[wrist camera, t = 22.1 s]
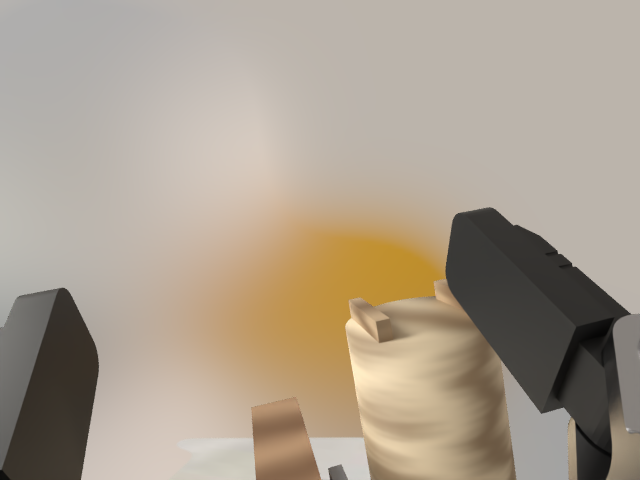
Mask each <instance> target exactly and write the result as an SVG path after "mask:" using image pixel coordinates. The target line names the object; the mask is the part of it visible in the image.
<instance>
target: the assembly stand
mask: <svg viewBox="0 0 640 480" xmlns="http://www.w3.org/2000/svg"><path fill="white" fill-rule="evenodd" d="M328 470H329V475H330V480H348V479H347V477H346V474H345V472H344V470H343V467H342V465H338V466H334V467H331V468H328Z"/></svg>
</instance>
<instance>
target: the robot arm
mask: <svg viewBox="0 0 640 480" xmlns="http://www.w3.org/2000/svg"><path fill="white" fill-rule="evenodd" d="M446 279H447V283H448V286H449V289H450V291H451V293H452V294H453V296H454V297H455V299H456V300H457V301H458V303H459V304H460V305H461V307H462V308H463V309H464V311H465V312H466V313H467V315H468V316H469V317H470V319H471V320H472V321H473V323H474V324H475V325H476V327H477V328H478V329H479V331H480V332H481V333H482V335H483V336H484V338H485V339H486V340H487V342H488V343H489V344H490V346H491V347H492V348H493V350H494V351H495V352H496V354H497V355H498V356H499V358H500V359H501V360H502V361H503V363H504V364H505V366H506V367H507V368H508V370H509V371H510V372H511V374H512V375H513V376H514V378H515V379H516V380H517V382H518V383H519V384H520V386H521V387H522V388H523V390H524V391H525V392H526V394H527V395H528V396H529V398H530V399H531V401H532V402H533V403H534V404H535V406H536V407H537V408H538V410H539V411H540V413H541V414H542V413H546V412H549V411H553V410H556V409H560V408H563V407H564V408H565V409H566V410H567V412H568V413H569V414H570V416H571V419H570V421H569V423H568V464H569V480H640V314H630V313H629V312H628V311H627V310H625V309H624V308H623V307H622V306H621V305H619V303H617V302H616V301H615V300H614V299H613V298H612V297H610V296H609V295H608V294H607V293H606V292H605V291H604V290H602V289H601V288H600V287H599V286H598V285H596V284H595V283H594V282H593V281H592V280H591V279H589V278H588V277H587V276H586V275H585V274H584V273H583V272H581V271H580V270H579V269H578V268H577V267H573V266H572V263H571V262H570V261H569V260H567V259H566V258H565V257H564V256H563V255H562V254H558V252H557V250H556V249H555V248H553V247H552V246H551V245H550V244H549V243H548V242H547V241H545V240H544V239H543V238H542V237H541V236H539V235H537V234H535V233H533V232H531V231H529V230H526V229H524V228H522V227H520V226H518V225H514V226H513V225H512V224H511V223H510V222H509V221H508V220H506V219H505V218H504V217H503V216H502V215H501V214H500V213H499V212H498V211H496V210H495V209H493V208H490V207H489V208H483V209H478V210H473V211H468V212H462V213H458V214H456V215H455V217H454V219H453V222H452V228H451V235H450V242H449V248H448V255H447V262H446ZM98 372H99V362H98V354H97V350H96V346H95V343H94V341H93V339H92V337H91V335H90V333H89V331H88V329H87V327H86V324H85V322H84V321H83V318H82V316H81V314H80V312H79V310H78V308H77V306H76V304H75V302H74V300H73V298H72V296H71V294H70V293H69V291H68V290H67V289H65V288H59V289H53V290H48V291H43V292H37V293H33V294H27V295H22V296H19V297H18V298H17V299H16V300H15V302H14V304H13V307H12V309H11V311H10V314H9V316H8V318H7V321H6V323H5V326H4V327H1V328H0V480H81V475H82V469H83V462H84V457H85V451H86V445H87V439H88V433H89V426H90V421H91V415H92V409H93V403H94V397H95V391H96V385H97V378H98Z"/></svg>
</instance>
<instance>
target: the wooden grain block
mask: <svg viewBox="0 0 640 480" xmlns="http://www.w3.org/2000/svg"><path fill="white" fill-rule="evenodd" d="M252 424H253V439H254V454H255V470H256V480H321V477H320V474H319V471H318V468H317V464H316V461H315V458H314V454H313V451H312V448H311V444H310V441H309V438H308V434H307V431H306V428H305V424H304V421H303V418H302V414H301V411H300V408H299V404H298V401H297V398H296V397H293V398H289V399H285V400H281V401H276V402H272V403H268V404H264V405H260V406H256V407H252Z"/></svg>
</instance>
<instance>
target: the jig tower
mask: <svg viewBox="0 0 640 480" xmlns="http://www.w3.org/2000/svg"><path fill="white" fill-rule="evenodd" d="M434 287H435V294H436V296H433V297H419V298H411V299H404V300H399V301H394V302H389V303H385V304H382V305H378V306H375V307H373V306H372V305H370V304H369V303H367V302H366V301H364V300H363V299H361V298H356V299H351V300H349V306H350V312H351V319H350V320H349V321H348V322H347V324H346V327H345V328H346V334H347V339H348V346H349V352H350V358H351V363H352V370H353V376H354V382H355V387H356V394H357V400H358V405H359V411H360V417H361V423H362V429H363V434H364V441H365V447H366V453H367V459H368V465H369V471H370V477H371V480H516V473H515V465H514V458H513V451H512V442H511V435H510V427H509V420H508V412H507V404H506V397H505V389H504V382H503V374H502V366H501V359H500V358H499V356H498V355H497V354H496V352H495V351H494V350H493V348H492V347H491V346H490V344H489V343H488V342H487V340H486V339H485V338H484V336H483V335H482V333H481V332H480V331H479V329H478V328H477V327H476V325H475V324H474V323H473V321H472V320H471V319H470V317H469V316H468V315H467V313H466V312H465V311H464V309H463V308H462V307H461V305H460V304H459V303H458V301H457V300H456V299H455V297H454V296H453V294H452V293H451V291H450V289H449V286H448V283H447V280H446V279H443V280H438V281H434Z"/></svg>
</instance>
